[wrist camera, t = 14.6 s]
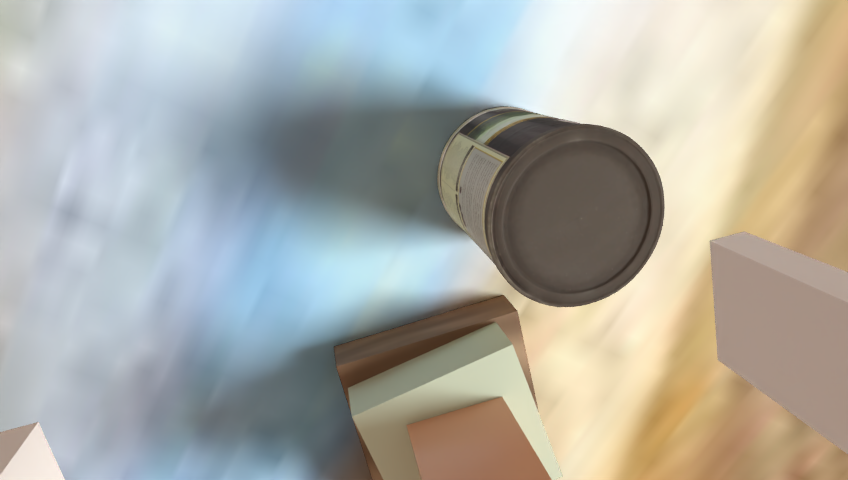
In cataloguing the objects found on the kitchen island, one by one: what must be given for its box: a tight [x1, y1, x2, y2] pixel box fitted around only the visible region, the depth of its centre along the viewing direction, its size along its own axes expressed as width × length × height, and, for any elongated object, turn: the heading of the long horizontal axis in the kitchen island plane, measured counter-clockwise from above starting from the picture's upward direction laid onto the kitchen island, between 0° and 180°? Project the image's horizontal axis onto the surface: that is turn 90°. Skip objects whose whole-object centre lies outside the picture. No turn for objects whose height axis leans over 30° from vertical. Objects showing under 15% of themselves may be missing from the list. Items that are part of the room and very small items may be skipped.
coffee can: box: [437, 107, 664, 307], centre depth 41 cm, size 10×10×14 cm
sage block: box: [348, 322, 563, 480], centre depth 47 cm, size 12×12×4 cm
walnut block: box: [334, 295, 539, 480], centre depth 51 cm, size 14×14×4 cm
